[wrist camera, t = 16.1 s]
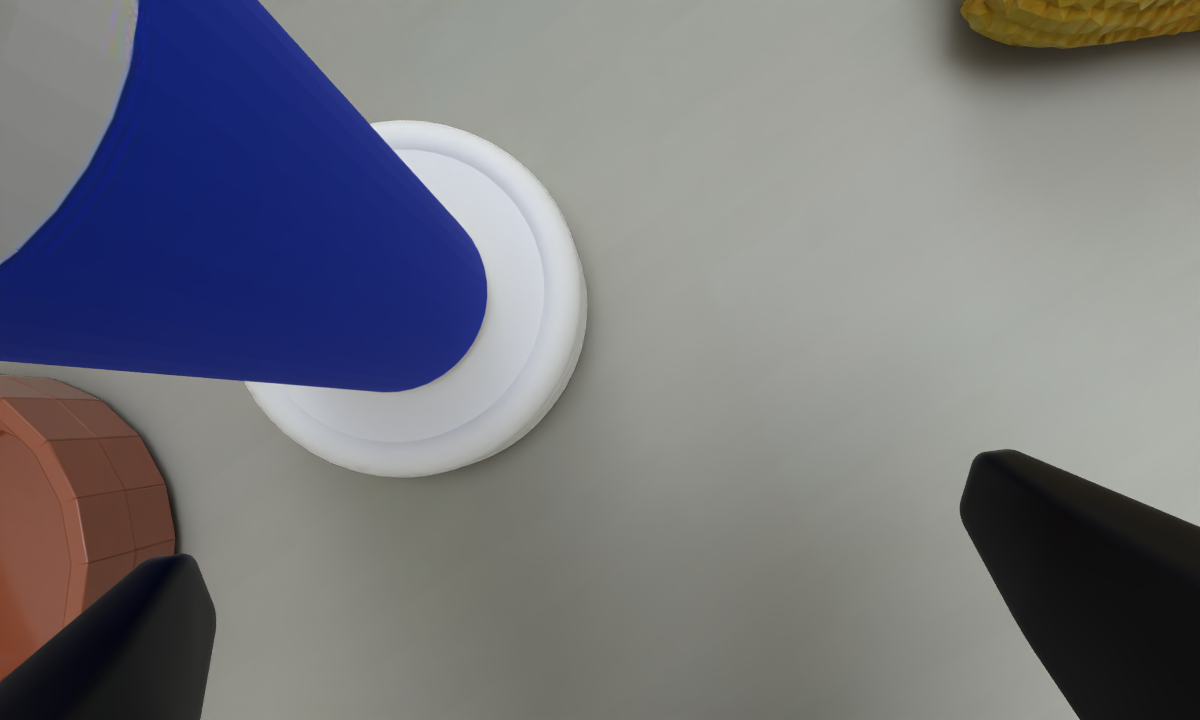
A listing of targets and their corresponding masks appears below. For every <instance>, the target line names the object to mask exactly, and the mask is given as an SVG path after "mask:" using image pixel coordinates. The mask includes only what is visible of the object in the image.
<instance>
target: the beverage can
mask: <svg viewBox="0 0 1200 720" xmlns="http://www.w3.org/2000/svg"><path fill="white" fill-rule="evenodd" d="M486 304H487V279H486V274H485V268H484V265H483V262H482V259H481V256H480V253H479V251H478V249H477V247H476V246H475V244H474V242H473V240H472V239H471V237H470V236H469V235H468V233H467V232H466V231H465V230H464V228H463V227H462V226H461V225H460V224H459V223H458V221H457V220H456V219H455V218H454V217H453V216H452V215H451V214H450V213H449V211H448V210H447V209H446V208H445V207H444V206H443V205H442V204H441V203H440V202H439V200H438V199H437V198H436V197H435V196H434V195H433V194H432V193H431V192H430V190H429V189H428V188H427V187H426V186H425V185H424V184H423V183H422V182H421V181H420V179H419V178H418V177H417V176H416V175H415V174H414V173H413V172H412V171H411V169H410V168H409V167H408V166H407V165H406V164H405V163H404V162H403V161H402V159H401V158H400V157H399V156H398V155H397V154H396V153H395V152H394V151H393V150H392V148H391V147H390V146H389V145H388V144H387V143H386V142H385V141H384V140H383V138H382V137H381V136H380V135H379V134H378V133H377V132H376V131H375V130H374V129H373V127H372V126H371V125H370V124H369V123H368V122H367V121H366V120H365V119H364V117H363V116H362V115H361V114H360V113H359V112H358V111H357V110H356V109H355V108H354V106H353V105H352V104H351V103H350V102H349V101H348V100H347V99H346V98H345V96H344V95H343V94H342V93H341V92H340V91H339V90H338V89H337V88H336V86H335V85H334V84H333V83H332V82H331V81H330V80H329V79H328V78H327V77H326V75H325V74H324V73H323V72H322V71H321V70H320V69H319V68H318V67H317V65H316V64H315V63H314V62H313V61H312V60H311V59H310V58H309V57H308V56H307V54H306V53H305V52H304V51H303V50H302V49H301V48H300V47H299V46H298V44H297V43H296V42H295V41H294V40H293V39H292V38H291V37H290V36H289V35H288V33H287V32H286V31H285V30H284V29H283V28H282V27H281V26H280V25H279V23H278V22H277V21H276V20H275V19H274V18H273V17H272V16H271V15H270V13H269V12H268V11H267V10H266V9H265V8H264V7H263V6H262V5H261V4H260V2H259V1H258V0H0V361H9V362H21V363H33V364H45V365H57V366H70V367H82V368H94V369H106V370H118V371H130V372H142V373H154V374H166V375H178V376H190V377H203V378H215V379H227V380H239V381H251V382H263V383H275V384H287V385H299V386H311V387H323V388H336V389H348V390H360V391H372V392H400V391H405V390H410V389H415V388H417V387H420V386H423V385H425V384H428V383H430V382H432V381H434V380H435V379H437V378H439V377H441V376H442V375H444V374H445V373H446V372H448V371H449V370H450V369H451V368H453V367H454V366H455V365H456V364H457V363H458V362H459V361H460V360H461V359H462V358H463V357H464V355H465V354H466V353H467V351H468V350H469V348H470V347H471V346H472V344H473V343H474V341H475V339H476V337H477V335H478V332H479V330H480V328H481V325H482V322H483V319H484V315H485V311H486Z"/></svg>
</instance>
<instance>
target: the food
mask: <svg viewBox="0 0 1200 720" xmlns="http://www.w3.org/2000/svg"><path fill="white" fill-rule="evenodd" d="M962 3H963V6H962V7H961V9H960V12H961V14H962V15H963V17H964V19H965V20H966V21H967V22H969V24H970V28H971V29H973V30H974V31H976V32H978V33H979V34H981V35H984V36H986V37H988V38H990V39H992V40H995V41H998V42H1001V43H1005V44H1008V45H1012V46H1017V47H1021V46H1029V47H1035V48H1042V47H1056V48H1059V49H1065V48H1076V47H1083V46H1091V45H1098V44H1111V43H1116V42H1121V41H1126V40H1137V39H1138V38H1146V37H1154V36H1160V35H1177V34H1178V33H1179V32H1192V31H1196V30H1200V0H962Z"/></svg>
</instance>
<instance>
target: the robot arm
mask: <svg viewBox="0 0 1200 720" xmlns="http://www.w3.org/2000/svg"><path fill="white" fill-rule="evenodd" d="M960 515H961V519H962V522H963V525H964V527H965V529H966V531H967V532H968V534H969V536H970V538H971V540H972V542H973V543H974V545H975V547H976V549H977V551H978V553H979V555H980V556H981V558H982V560H983V562H984V564H985V566H986V567H987V569H988V571H989V573H990V575H991V577H992V579H993V580H994V582H995V584H996V586H997V588H998V590H999V592H1000V593H1001V595H1002V597H1003V599H1004V601H1005V603H1006V604H1007V606H1008V608H1009V610H1010V612H1011V614H1012V616H1013V617H1014V619H1015V621H1016V622H1017V624H1018V626H1019V628H1020V629H1021V631H1022V633H1023V635H1024V636H1025V638H1026V639H1027V641H1028V642H1029V644H1030V646H1031V647H1032V649H1033V650H1034V652H1035V653H1036V655H1037V656H1038V658H1039V659H1040V661H1041V662H1042V664H1043V665H1044V667H1045V668H1046V670H1047V671H1048V673H1049V674H1050V676H1051V677H1052V679H1053V680H1054V682H1055V683H1056V685H1057V686H1058V688H1059V689H1060V691H1061V692H1062V694H1063V695H1064V697H1065V698H1066V700H1067V701H1068V703H1069V704H1070V705H1071V707H1072V708H1073V710H1074V711H1075V713H1076V714H1077V716H1078V717H1079V719H1080V720H1200V527H1199V526H1196V525H1194V524H1191V523H1189V522H1187V521H1184V520H1182V519H1179V518H1177V517H1175V516H1172V515H1170V514H1167V513H1165V512H1163V511H1160V510H1158V509H1155V508H1153V507H1151V506H1148V505H1146V504H1143V503H1141V502H1139V501H1136V500H1134V499H1131V498H1129V497H1127V496H1124V495H1122V494H1119V493H1117V492H1115V491H1112V490H1110V489H1107V488H1105V487H1103V486H1100V485H1098V484H1095V483H1093V482H1091V481H1088V480H1086V479H1083V478H1081V477H1079V476H1076V475H1074V474H1071V473H1069V472H1067V471H1064V470H1062V469H1059V468H1057V467H1055V466H1052V465H1050V464H1047V463H1045V462H1043V461H1040V460H1038V459H1035V458H1033V457H1031V456H1028V455H1026V454H1023V453H1021V452H1019V451H1016V450H1011V449H1004V450H996V451H988V452H983V453H980V454H978V455H977V456H976V457H975V459H974V460H973V462H972V465H971V468H970V471H969V475H968V478H967V481H966V485H965V488H964V491H963V495H962V498H961V502H960ZM215 631H216V613H215V608H214V605H213V602H212V600H211V597H210V594H209V592H208V589H207V587H206V584H205V582H204V579H203V577H202V574H201V572H200V569H199V567H198V564H197V562H196V561H195V559H194V558H193V557H192V556H191V555H188V554H176V555H168V556H160V557H153V558H150V559H147V560H145V561H143V562H142V563H141V564H139V565H138V566H137V567H136V568H135V569H133V570H132V571H131V572H130V573H129V574H127V575H126V576H125V577H124V578H123V579H121V580H120V581H119V582H118V583H117V584H115V585H114V586H113V587H112V588H111V589H110V590H108V591H107V592H106V593H105V594H104V595H102V596H101V597H100V598H99V599H98V600H96V601H95V602H94V603H93V604H92V605H91V606H89V607H88V608H87V609H86V610H85V611H83V612H82V613H81V614H80V615H79V616H77V617H76V618H75V619H74V620H73V621H72V622H70V623H69V624H68V625H67V626H66V627H64V628H63V629H62V630H61V631H60V632H58V633H57V634H56V635H55V636H54V637H52V638H51V639H50V640H49V641H48V642H47V643H45V644H44V645H43V646H42V647H41V648H39V649H38V650H37V651H36V652H35V653H33V654H32V655H31V656H30V657H29V658H28V659H26V660H25V661H24V662H23V663H22V664H20V665H19V666H18V667H17V668H16V669H14V670H13V671H12V672H11V673H10V674H9V675H7V676H6V677H5V678H4V679H3V680H1V681H0V720H200V718H201V712H202V706H203V700H204V695H205V689H206V683H207V677H208V672H209V666H210V660H211V654H212V649H213V643H214V637H215Z"/></svg>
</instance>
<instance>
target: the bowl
mask: <svg viewBox="0 0 1200 720" xmlns="http://www.w3.org/2000/svg"><path fill="white" fill-rule="evenodd" d="M164 484H165V481H164V480H163V478H162V476H161V474H160V472H159V470H158V468H157V467H156V465H155V463H154V461H153V459H152V457H151V455H150V454H149V452H148V450H147V448H146V446H145V444H144V442H143V441H142V439H141V437H139V435H138V434H137V433H136V432H135V431H134V430H133V429H132V428H131V427H130V426H128V425H127V424H126V423H125V422H124V421H123V420H122V419H121V418H120V417H119V416H118V415H117V414H116V413H115V412H113V411H112V410H111V409H110V408H109V407H108V406H107V405H106V404H105V403H104V402H103V401H101V400H100V399H98V398H96V397H94V396H92V395H89V394H87V393H85V392H83V391H80V390H78V389H76V388H74V387H71V386H69V385H67V384H65V383H62V382H60V381H58V380H56V379H50V378H41V377H30V376H18V375H6V374H0V681H1V680H3V679H4V678H5V677H6V676H7V675H9V674H10V673H11V672H12V671H13V670H14V669H16V668H17V667H18V666H19V665H20V664H22V663H23V662H24V661H25V660H26V659H28V658H29V657H30V656H31V655H32V654H33V653H35V652H36V651H37V650H38V649H39V648H41V647H42V646H43V645H44V644H45V643H47V642H48V641H49V640H50V639H51V638H52V637H54V636H55V635H56V634H57V633H58V632H60V631H61V630H62V629H63V628H64V627H66V626H67V625H68V624H69V623H70V622H72V621H73V620H74V619H75V618H76V617H77V616H79V615H80V614H81V613H82V612H83V611H85V610H86V609H87V608H88V607H89V606H91V605H92V604H93V603H94V602H95V601H96V600H98V599H99V598H100V597H101V596H102V595H104V594H105V593H106V592H107V591H108V590H110V589H111V588H112V587H113V586H114V585H115V584H117V583H118V582H119V581H120V580H121V579H123V578H124V577H125V576H126V575H127V574H129V573H130V572H131V571H132V570H133V569H135V568H136V567H137V566H138V565H139V564H141V563H142V562H143V561H145V560H147V559H150V558H153V557H160V556H168V555H174V549H175V540H174V539H175V532H174V526H173V521H172V515H171V510H170V504H169V499H168V493H167V488H166V485H164Z"/></svg>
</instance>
